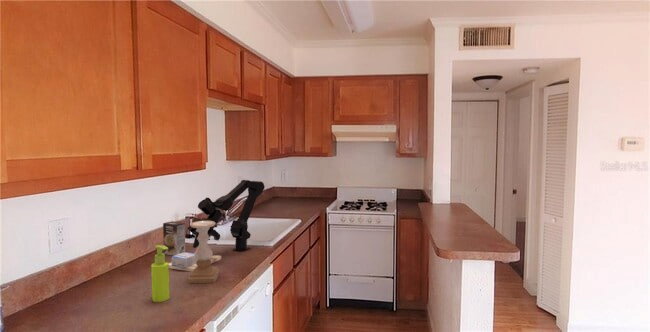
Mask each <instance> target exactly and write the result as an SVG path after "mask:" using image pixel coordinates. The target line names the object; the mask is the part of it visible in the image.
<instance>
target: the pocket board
mask: <svg viewBox="0 0 650 332" xmlns="http://www.w3.org/2000/svg"><path fill="white" fill-rule="evenodd" d="M209 259H210V260H211V264H213V263H216V262H218V261H220V260H222V255H218V254H217V255H215V254H212V257H211V258H209ZM168 263H169V269H171V270H173V269H174V270H179V271H186V272H191V273H192V271H193V270H194V269H195V268H196V267H198V266H197V265H196V264H194V265H191V266H189V267H187V268H182V267H176V266H172V262H171V261H170V262H168ZM211 264H210V265H211Z"/></svg>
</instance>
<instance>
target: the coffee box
mask: <svg viewBox="0 0 650 332" xmlns="http://www.w3.org/2000/svg"><path fill="white" fill-rule="evenodd" d="M162 225H163V226H162V227H163V228H162V231H163V233H162V234H163V246H166V247H168V249H166V250H163V254H165V255H168V256H175V255H178V254H180V253H183V252H186V222H180V221H168V222H167V221H166V222H163V223H162Z"/></svg>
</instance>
